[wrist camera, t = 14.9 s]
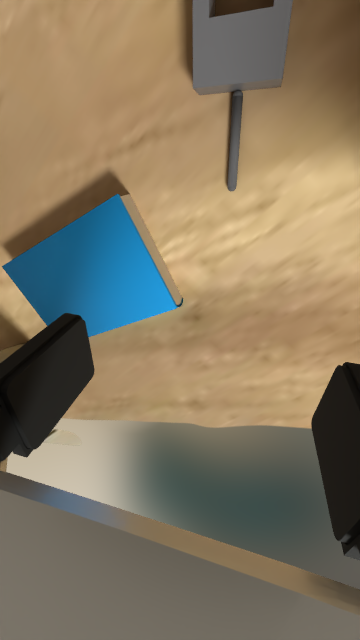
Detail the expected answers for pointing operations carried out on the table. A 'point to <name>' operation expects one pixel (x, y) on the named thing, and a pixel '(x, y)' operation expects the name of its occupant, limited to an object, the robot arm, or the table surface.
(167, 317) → the table surface
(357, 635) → the robot arm
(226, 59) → the power strip
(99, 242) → the book
